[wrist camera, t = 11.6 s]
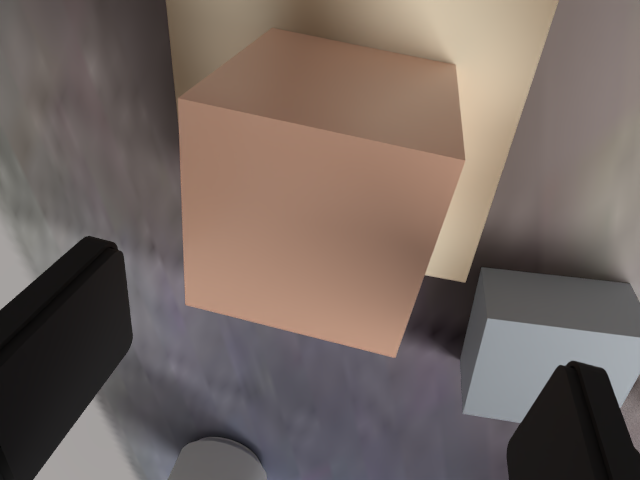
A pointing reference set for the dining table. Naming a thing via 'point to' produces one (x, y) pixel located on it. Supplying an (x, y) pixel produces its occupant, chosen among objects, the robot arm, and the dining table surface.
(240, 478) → the can
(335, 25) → the beech block
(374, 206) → the terracotta cube
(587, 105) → the dining table surface
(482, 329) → the slate block
